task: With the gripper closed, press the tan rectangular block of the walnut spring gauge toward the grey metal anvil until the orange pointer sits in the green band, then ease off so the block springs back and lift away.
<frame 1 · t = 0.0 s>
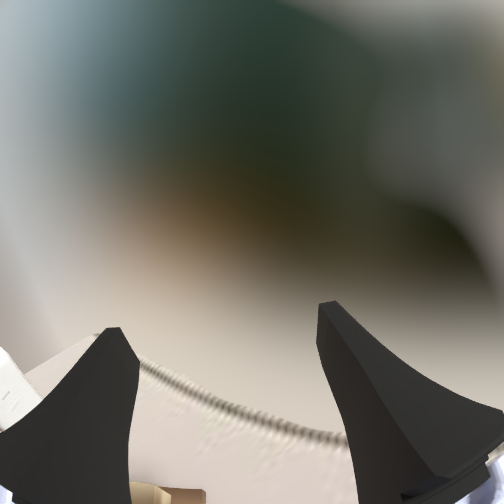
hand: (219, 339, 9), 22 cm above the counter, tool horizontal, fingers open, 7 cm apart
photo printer: (28, 419, 23), on the counter
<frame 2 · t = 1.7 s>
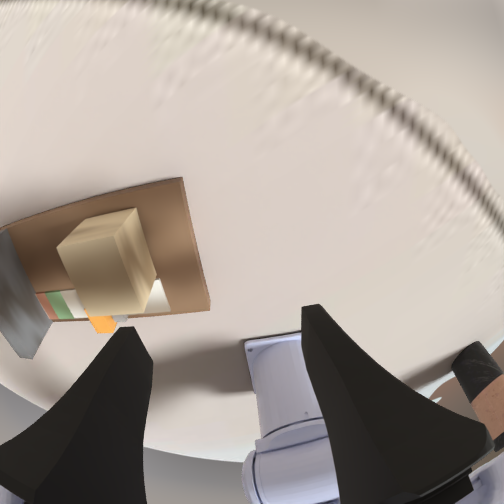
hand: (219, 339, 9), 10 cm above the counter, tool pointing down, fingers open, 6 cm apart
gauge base: (90, 262, 19), on the counter
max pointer: (102, 312, 18), point 3 cm above the counter, slide at 0.0 cm
travel mug: (465, 354, 34), on the counter
tan rectangular block: (117, 280, 16), point 4 cm above the counter, slide at 0.0 cm
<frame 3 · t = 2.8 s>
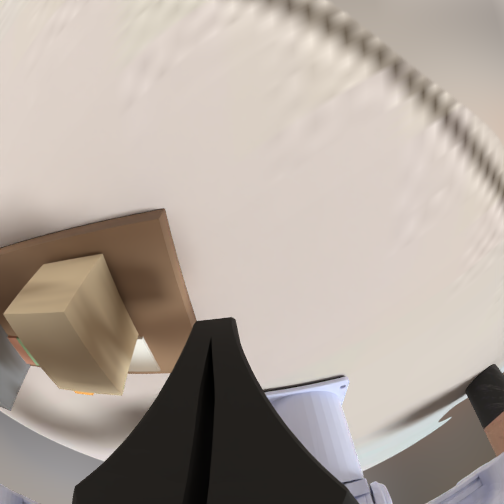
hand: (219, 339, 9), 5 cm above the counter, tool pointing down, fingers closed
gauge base: (61, 308, 14), on the counter
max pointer: (78, 371, 13), point 3 cm above the counter, slide at 0.0 cm
travel mug: (480, 377, 29), on the counter
tan rectangular block: (87, 346, 11), point 3 cm above the counter, slide at 0.0 cm
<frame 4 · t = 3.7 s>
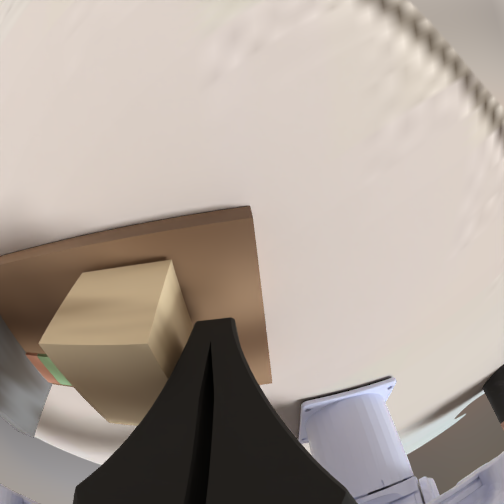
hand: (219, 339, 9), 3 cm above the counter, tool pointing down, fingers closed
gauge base: (96, 322, 13), on the counter
travel mug: (496, 374, 28), on the counter
tan rectangular block: (146, 371, 10), point 4 cm above the counter, slide at 0.1 cm, touching gripper
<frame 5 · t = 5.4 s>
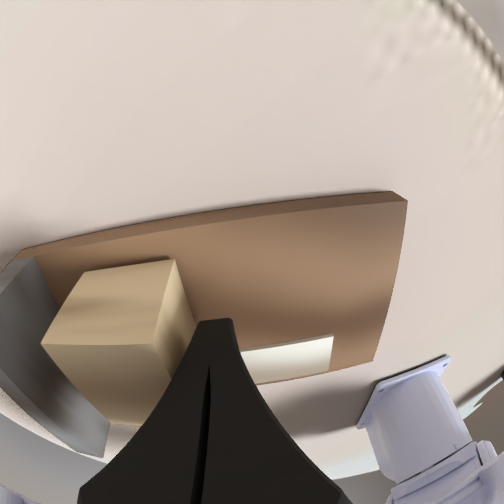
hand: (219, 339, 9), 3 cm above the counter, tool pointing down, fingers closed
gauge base: (204, 313, 13), on the counter
tan rectangular block: (148, 371, 10), point 4 cm above the counter, slide at 6.2 cm, touching gripper, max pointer
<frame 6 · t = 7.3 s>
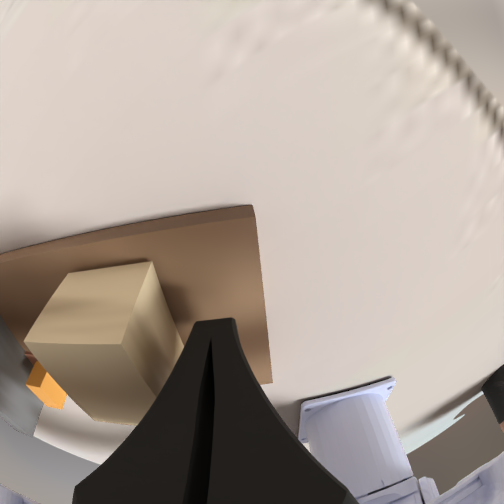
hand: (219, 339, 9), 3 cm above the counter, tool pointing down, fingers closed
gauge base: (96, 321, 13), on the counter
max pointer: (48, 385, 12), point 3 cm above the counter, slide at 5.9 cm
travel mug: (495, 375, 28), on the counter
tan rectangular block: (129, 371, 9), point 4 cm above the counter, slide at 0.9 cm
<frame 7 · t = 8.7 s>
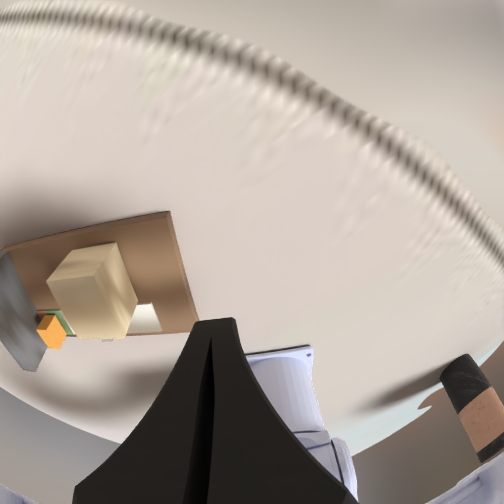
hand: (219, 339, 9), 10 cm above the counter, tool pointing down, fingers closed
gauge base: (87, 284, 20), on the counter
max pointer: (51, 332, 19), point 3 cm above the counter, slide at 5.9 cm
travel mug: (454, 366, 35), on the counter
tan rectangular block: (102, 307, 17), point 4 cm above the counter, slide at 0.9 cm
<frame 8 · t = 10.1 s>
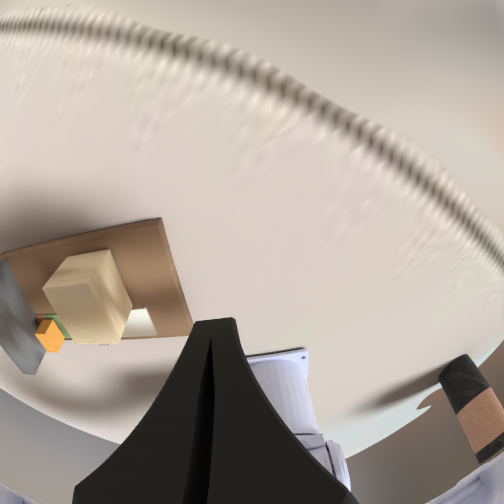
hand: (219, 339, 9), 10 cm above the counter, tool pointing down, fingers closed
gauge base: (83, 289, 20), on the counter
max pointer: (50, 336, 19), point 3 cm above the counter, slide at 5.9 cm
travel mug: (453, 367, 35), on the counter
tan rectangular block: (97, 312, 17), point 3 cm above the counter, slide at 0.9 cm
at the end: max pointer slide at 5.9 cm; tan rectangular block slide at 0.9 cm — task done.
